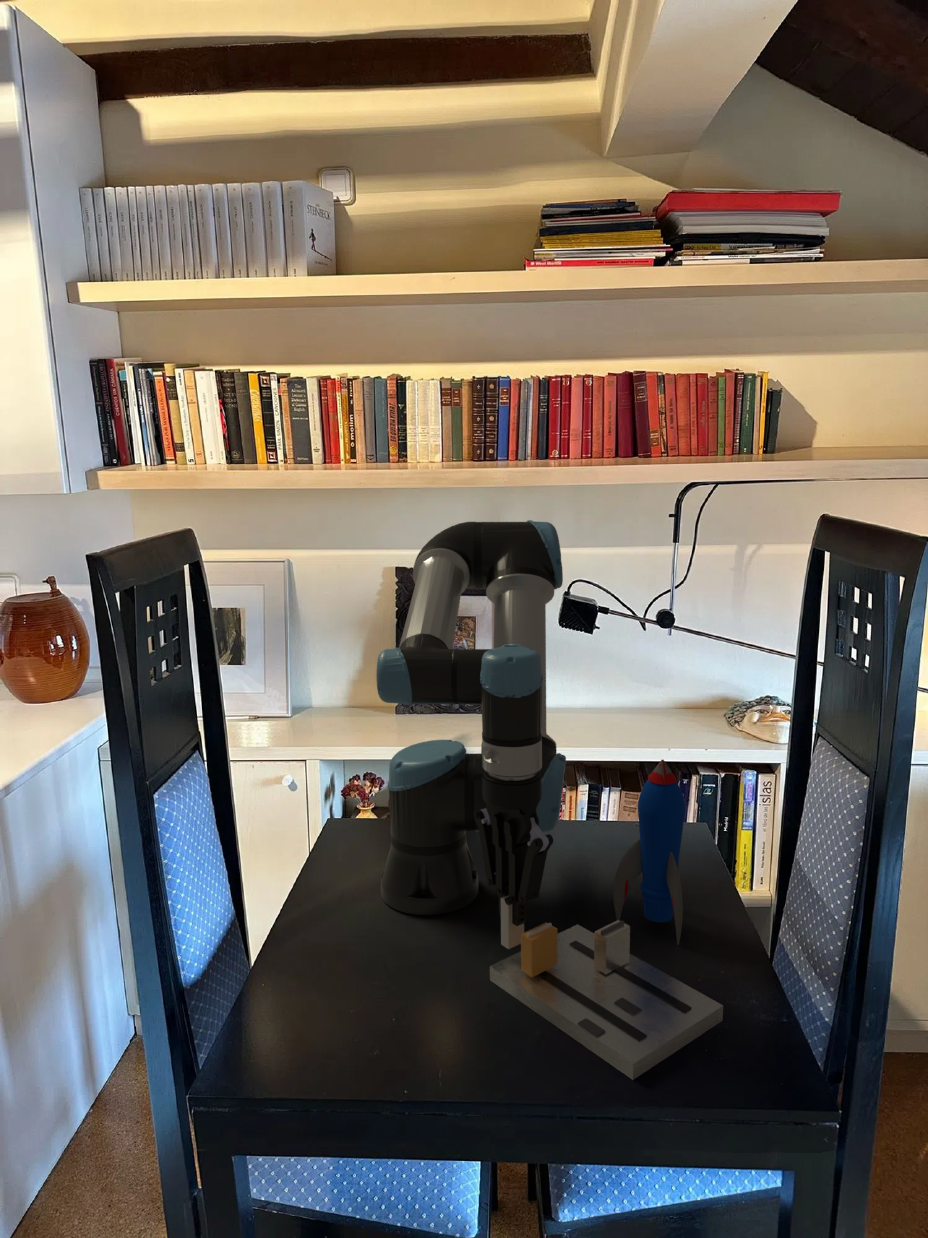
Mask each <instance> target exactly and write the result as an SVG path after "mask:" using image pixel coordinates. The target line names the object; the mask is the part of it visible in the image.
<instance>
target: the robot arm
mask: <svg viewBox="0 0 928 1238" xmlns="http://www.w3.org/2000/svg"><path fill="white" fill-rule="evenodd" d="M561 551H562V550H561V544H560V540H559V535H558V532H557V529H556V527H555V525H553V524H552V523H551V522H548V521H535V520H531V519H530V520H529V519H528V520H526V521H465V522H460V523H457V524H453V525H452V526H449V527H447V528H445V529H443V530H441V531H440V532H438V533H437V534H435V535H434V536H433V537H432V538H430V539H429V540H428V542H427V543H426V544H425V545H423V547H422V548H421V550H420V551H419V552H418V554H417V556H416V558H415V560H414V565H413V568H412V580H413V583H414V584H415V585H414V589H413V592H412V596H411V600H410V605H409V608H408V611H407V616H406V618H405V619H406V620H405V623H404V627H403V630H402V631H403V632H402V635H401V639H400V643H399V647H394V648H385V649H384V650H381V652H380V653H379V654H378V656H377V661H376V674H375V675H376V677H375V678H376V689H377V694H378V697H379V698H380V700H381V701H382V702H384V703H385V704H386V703H387V704H397V705H398V704H403V705H406V706H411V705H474V706H475V705H477V706H479V705H481V725H482V726H481V727H482V728H481V729H482V732H481V738H482V739H481V749H480V750H481V751H480V753H469V752H467V748H466V747H465V745H464V743H462V742H461V741H458V740H452V739H433V740H427V741H426V740H425V741H421V742H417V743H414V744H412V745H411V744H410V745H409V746H406V747H404V748H402V749H400V750H399V751H398V752H396V753H395V754H393V756H392V758H391V759H390V761H389V766H388V768H389V769H388V770H389V771H388V783H387V788H388V793H389V795H388V797H389V825H390V826H389V827H390V848H389V852H388V855H387V858H386V862H385V865H384V870H383V872H382V875H381V878H380V895H381V899H382V900H383V902H384V903H385V904H386V905H387V906H388V907H390V908H393V910H396V911H398V912H401V913H405V914H408V915H409V914H410V915H416V916H437V915H438V916H439V915H443V914H448V913H452V912H453V913H454V912H456V911H458V910H461V909H463V908H465V907H467V906H469V905H470V904H472V903H473V902H474V901H475V900H476V899H477V897H478V894H479V874H478V872H477V868H476V866H475V863H474V861H473V860H474V859H473V858H472V854H471V852H470V849H469V846H468V843H467V832H478V833H479V839H480V845H481V846H480V847H481V851H482V857H483V865H484V869H485V871H484V872H485V876H486V877H485V878H486V883H487V885H488V886H490V887H492V886H493V887H494V889H495V892H496V894H497V895H498V914H499V917H500V945H501V946H503V947H504V948H506V949H507V950H511V949H513V948H514V947H516V946H519V945H521V934H522V933H524V932H525V923H526V922H527V903H529V902H531V901H533V900H536V899H538V898H539V897H540V890H541V887H542V881H543V876H544V872H545V871H544V870H545V865H546V862H547V861H546V860H547V855H548V851H549V850H550V848H551V847H552V845H553V843H554V837H553V836H552V835H551V834H548V833H550V832H552V831H554V830H555V829H556V828H557V826H558V824H559V820H560V815H561V814H560V813H561V807H562V806H561V805H562V800H563V789H564V779H565V772H566V771H565V770H566V763H567V762H566V761H567V757H566V755H565V754H562V753H561V752H557V742H556V741H555V740H554V739H553V738H552V737H551V736H550V735H548V732H547V640H546V639H547V635H546V634H547V631H546V630H547V626H546V624H547V622H546V621H547V617H546V610H547V609H546V606H547V604H548V603H550V602H551V601H552V600H553V598H554V596H555V590H557V589H560V588H561V587H562V586H563V580H564V579H563V578H564V574H563V562H562V552H561ZM466 589H485V594H486V597H487V599H488V600H490V602H491V603H493V604H494V609H493V610H494V612H493V613H494V618H493V648H469V649H468V648H463V649H462V648H454V641H455V635H456V628H457V622H458V616H459V609H460V603H461V597H462V594H463V593H464V592H465V591H466ZM544 833H547V834H544Z"/></svg>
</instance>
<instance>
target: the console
mask: <svg viewBox="0 0 928 1238" xmlns="http://www.w3.org/2000/svg"><path fill="white" fill-rule="evenodd" d="M630 943H631V926H630V925H629V924H627V923H625V921H624V920H620V921H619V920H617V919H616V921H613V922H612V923H609V924H607V925H604V926H603V927H601V928H599V929H598V930H595V931H594V932H593V931H590V930H589V929H588V928H585V927H583V926H581V925H579V924H578V923H577V924H576V925H573V926H571V927H569V928H567V929H564V930H563V931H561V932H557V965H556V966H554V967H552V968H550V969H548V970H546V971H544V972H542V973H540V974H538V975H536V976H534V977H530V976H529V975H527V974H526V973H524V972H523V971H521V950H520V951H518V952H517V953H516V952H515V954H513V955H510V956H508V957H506V958H504V959H502V960H499V961H498V962H495V963H493V964H492V965H490V966H489V980H490V982H492V983H493V984H495V985H496V986H497V987H499V988H500V989H502V990H503V991H505V992H506V993H508V994H509V995H510V996H512V997H513V998H515V999H516V1000H517V1001H519V1002H521V1003H522V1004H524V1005H525V1006H526V1007H528V1008H530V1010H532V1011H533V1012H535V1013H536V1014H538V1015H539V1016H541V1017H542V1018H543V1019H545V1020H546V1021H548V1022H549V1023H551V1024H552V1025H554V1026H555V1027H556V1028H557V1029H559V1030H561V1031H562V1032H563V1033H565V1034H566V1035H568V1036H569V1037H571V1038H572V1039H573V1040H575V1041H576V1042H577V1043H579V1044H581V1045H582V1046H583V1047H585V1048H586V1049H588V1050H589V1051H591V1052H592V1053H594V1054H595V1055H596V1056H598V1057H599V1058H601V1059H602V1060H603V1061H605V1062H606V1063H608V1064H609V1065H611V1067H614V1068H615V1069H616V1070H618V1071H619V1072H621V1073H622V1074H624V1075H625V1076H627V1077H628V1078H629V1079H630V1080H632V1081H634V1080H635V1079H637V1078H638V1077H640V1076H642V1075H643V1074H645V1073H646V1072H648V1071H649V1070H651V1068H653V1067H655V1066H656V1065H658V1064H659V1063H661V1062H662V1061H664V1060H665V1059H667V1058H668V1057H670V1056H672V1055H673V1054H674V1053H676V1052H678V1051H679V1050H681V1049H682V1048H684V1047H685V1046H687V1045H688V1044H690V1043H691V1042H693V1041H694V1040H696V1039H697V1038H699V1037H701V1036H702V1035H703V1034H705V1033H706V1032H708V1031H710V1029H713V1028H714V1027H715V1026H717V1025H718V1024H720V1023H721V1022H723V1021H724V1020H723V1019H724V1017H723V1016H724V1005H723V1004H721V1003H719V1002H718V1001H716V1000H714V999H712V998H711V997H708V996H707V995H705V994H703V993H702V992H700V991H699V990H696V989H694V987H693V988H692V987H691V986H689V985H687V984H685V983H684V982H682V981H680V980H679V979H677V978H675V977H673V976H671V975H670V974H667V973H665V972H664V971H662V970H661V969H658V968H657V967H655V966H653V965H652V964H649V963H648V962H646V961H644V960H642V959H641V958H639V957H637V956H635V955H633V954H631V952H630V948H631V947H630V946H631V945H630Z"/></svg>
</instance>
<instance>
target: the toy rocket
mask: <svg viewBox="0 0 928 1238" xmlns="http://www.w3.org/2000/svg"><path fill="white" fill-rule="evenodd" d="M639 794H640V795H639V798H638V801H637V817H638V831H639V839H638V840H636V842H635V843H633V845H631V846H630V848H628V850H627V851H626V852H625V853H624V855H623V856H622V858H621V860H620V862H619V864H618V867H617V869H616V873H615V875H614V883H613V892H612V893H613V906H614V908H613V909H614V912H615V917H616V921H617V920H619V921H621V915H622V912H623V907H624V905H625V902H626V898H627V895H628V894H629V891H630V888H631V886H632V885H633V883H634V882H635V880H636V879H637V878H638V877H639V875H641V874H642V881H641V882H640V890H641V897H642V899H643V916H644V917H645V918H646V919H647V920H649V921H651V922H656V923H666V922H670V921H671V920H672V919H673V917H674V925H675V933H676V935H675V936H676V944H677V946H680V939H681V934H682V927H683V915H684V913H683V912H684V910H683V906H684V904H683V903H684V902H683V891H682V889H683V888H682V882H681V879H680V878H681V877H680V854H681V853H680V852H681V845H682V839H683V838H682V837H683V830H684V823H685V816H686V815H685V814H686V803H685V798H684V795H683V791H682V789H681V787H680V785H679V784H678V782H677V778H676V776H675V775H674V773H673V771H672V770H671V768H670V767H669V766H668V764H667V762H666V761H665V760H664V759H660V761H659V763H658V764H657V765H656V767H654V769H653V770H652V772H651V773H650V774H649V776H647V780H646V782H645V783H644V784H643V787H642V789H641V791H640V793H639Z"/></svg>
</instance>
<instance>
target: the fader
mask: <svg viewBox="0 0 928 1238" xmlns="http://www.w3.org/2000/svg"><path fill="white" fill-rule="evenodd" d="M557 934H558V928H557V927H555V926H553V925H552V922H549V923H548V922H544V923H542V924H540V925H538V926H535V927H533V928H531V929H529V930H527V931H524V933H522V934H521V944H520V951H521V971H523V972H524V973H526V974H527V975H529V976H530V977H534V976H536V975H538V974H540V973H542V972H544V971H546V970H548V969H550V968H552V967H554V966H556V965H557Z"/></svg>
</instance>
